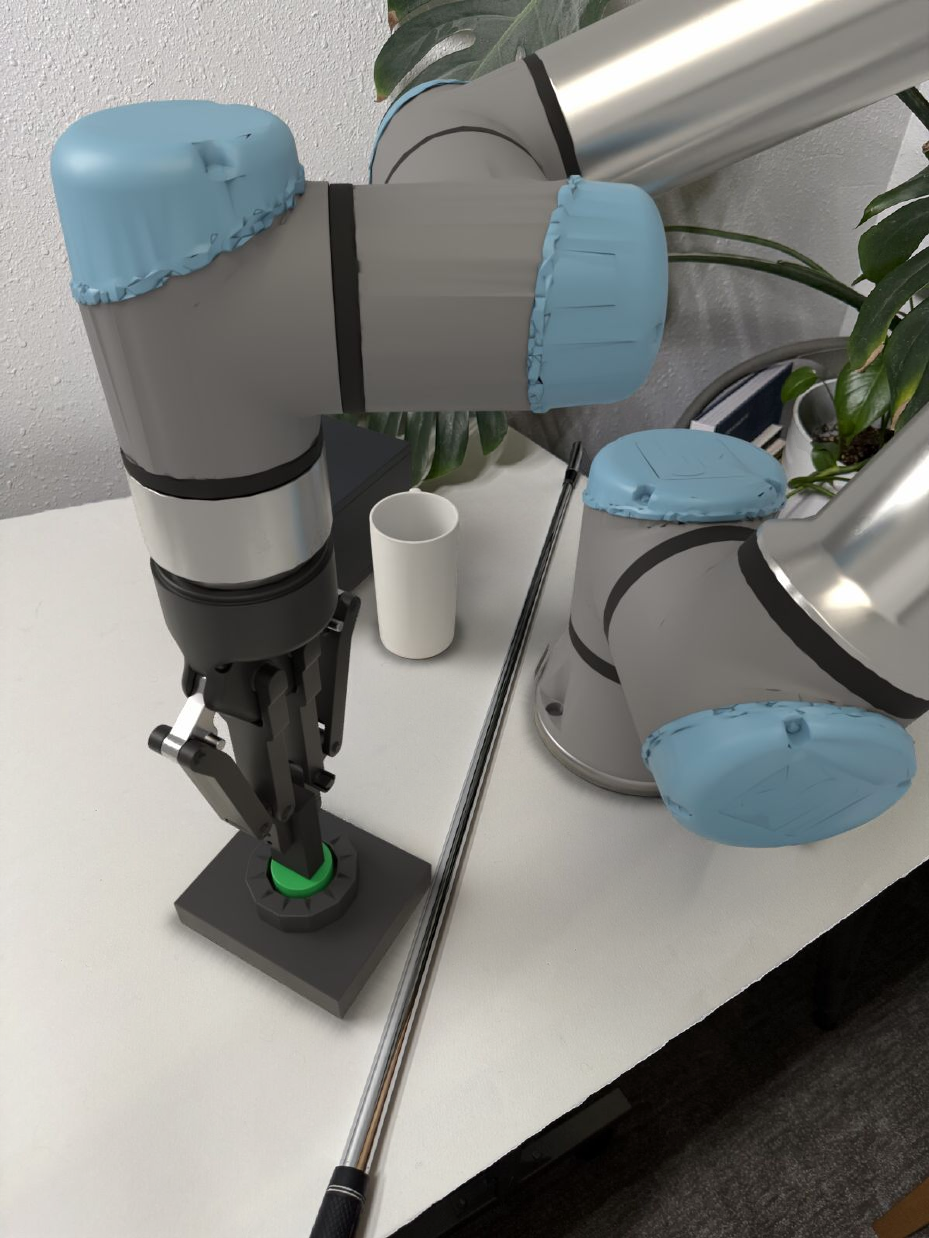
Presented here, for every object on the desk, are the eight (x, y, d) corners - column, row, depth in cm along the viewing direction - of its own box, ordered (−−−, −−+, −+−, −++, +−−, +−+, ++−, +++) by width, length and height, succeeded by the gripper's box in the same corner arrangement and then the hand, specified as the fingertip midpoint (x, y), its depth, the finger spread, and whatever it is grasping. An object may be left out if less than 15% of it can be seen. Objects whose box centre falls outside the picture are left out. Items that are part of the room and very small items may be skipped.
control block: (431, 883, 56) (431, 847, 54) (341, 1019, 50) (335, 986, 47) (282, 806, 61) (275, 769, 58) (180, 922, 54) (166, 886, 51)
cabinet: (315, 626, 74) (303, 532, 68) (191, 574, 79) (168, 481, 73) (413, 531, 85) (411, 442, 78) (298, 491, 90) (287, 403, 83)
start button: (346, 869, 54) (344, 852, 53) (310, 915, 51) (307, 899, 50) (298, 844, 55) (295, 827, 54) (261, 888, 53) (258, 872, 52)
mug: (458, 662, 71) (460, 543, 63) (375, 662, 71) (367, 543, 63) (455, 583, 79) (457, 468, 71) (380, 584, 79) (373, 468, 71)
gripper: (269, 443, 42) (313, 760, 58) (51, 594, 33) (172, 918, 49) (402, 489, 39) (411, 808, 55) (202, 665, 31) (280, 984, 46)
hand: (298, 860), depth 52 cm, fingers closed
